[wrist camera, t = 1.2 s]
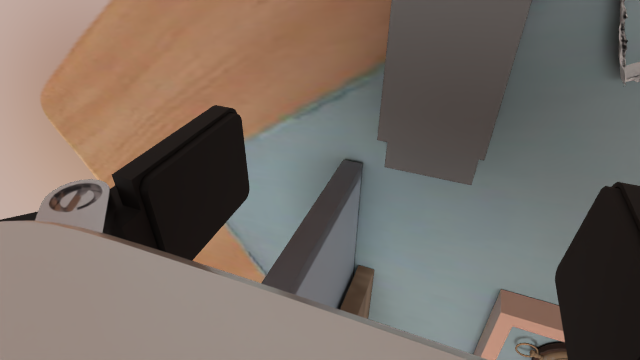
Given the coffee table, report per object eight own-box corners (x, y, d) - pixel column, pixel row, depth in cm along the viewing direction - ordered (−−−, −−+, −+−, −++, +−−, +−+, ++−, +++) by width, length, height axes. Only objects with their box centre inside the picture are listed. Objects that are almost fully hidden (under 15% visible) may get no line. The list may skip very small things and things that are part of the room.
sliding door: (362, 163, 31) (246, 364, 17) (351, 292, 40) (271, 490, 26) (343, 159, 31) (216, 351, 17) (337, 287, 40) (250, 479, 27)
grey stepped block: (531, -39, 20) (539, -26, 16) (473, 166, 28) (467, 216, 23) (418, -44, 22) (395, -33, 17) (392, 150, 29) (371, 193, 25)
